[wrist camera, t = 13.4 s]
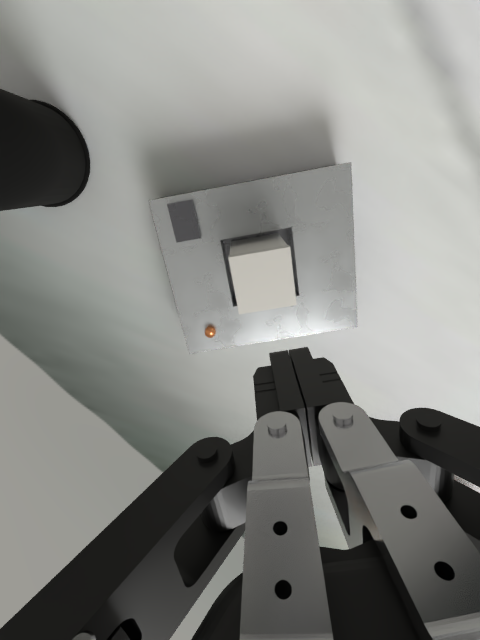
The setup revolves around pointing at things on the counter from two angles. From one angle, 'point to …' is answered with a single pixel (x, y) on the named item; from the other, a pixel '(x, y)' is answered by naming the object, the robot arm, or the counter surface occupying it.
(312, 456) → the robot arm
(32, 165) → the aerosol can
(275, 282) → the white plain square block
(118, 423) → the counter surface
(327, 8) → the counter surface
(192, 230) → the socket
